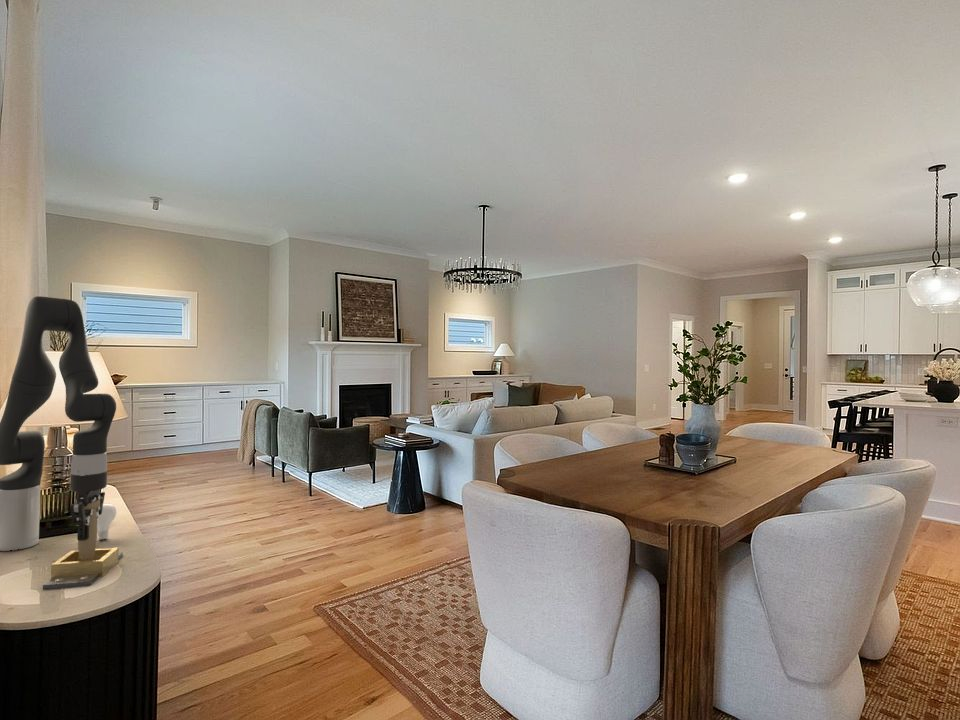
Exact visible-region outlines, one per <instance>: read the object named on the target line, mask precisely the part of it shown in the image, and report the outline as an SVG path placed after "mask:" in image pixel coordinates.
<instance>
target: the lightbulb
mask: <svg viewBox="0 0 960 720" xmlns="http://www.w3.org/2000/svg"><path fill="white" fill-rule="evenodd" d="M116 516H117V508H116V506H115V505H114V504H111V503H108V502H103V508H102V514H101V515H99V518H98V519H97V540H100V541H105V540H106V539H108V538H109V531H110V528H111V526H112V525H111V524H112V523H113V521H114V520H115V519H116ZM104 539H105V540H104Z"/></svg>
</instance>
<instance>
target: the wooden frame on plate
mask: <svg viewBox="0 0 960 720" xmlns="http://www.w3.org/2000/svg"><path fill="white" fill-rule="evenodd" d="M119 549H120V548H119V547H107V548H106V547H105V548H96V550H95V552H94V553H95V557H94V558H92V559H91V560H86V561H82V560H79V555H80V554H79V551H78V550H77V549H76V550H74V549H72V550H70V551H69V552H67V553H66V554H65V555H63V556H61V557H60V558H59V559H57V560H55V561H54V562H53V563H52V564H50V567H51V568H50V579H49V580H47V581H46V582H45V583H43V584H42V590H50V589H63V588H76V587H88V586H91V585H92V584H94V583H95V581H97V580H98V579H100V578H103V577H104V576H105V575H106V574H108V572H109V571H110V570H112V569H113V568H114V567H115V566H116V565H117V564H118V563H119V560H120V559H121V558H122V557H123V556H124V552H121V551H119Z"/></svg>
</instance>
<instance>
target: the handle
mask: <svg viewBox="0 0 960 720" xmlns="http://www.w3.org/2000/svg"><path fill="white" fill-rule="evenodd" d="M99 506H100V499H99V500H96V502H94V503H89V504H88V505H87V506H86V507H85V506H84V507H85V509H84V510H89V509H93V515H91V516H90V521H89V538H88V539H87V540H84V541H78V540H77V548H78V551H79V554H80V555H79V560H82V561H86V560H91V559H92V558H94V557H95V553H94V552H95V550H96V549H97V540H98V530H97V523H96V509H97V508H98V507H99ZM88 512H89V511H85V513H88ZM85 517H86V516H85Z"/></svg>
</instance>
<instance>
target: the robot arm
mask: <svg viewBox="0 0 960 720" xmlns="http://www.w3.org/2000/svg"><path fill="white" fill-rule="evenodd" d="M23 323H24V324H23V330H22V336H21V344H20V349H19V353H18V357H17V360H16V364H15V367H14V370H13V373H12V377H11V380H10V384H9V385H10V386H9V388H8V389H9V390H8V393H7V399H6V404H5V407H4V411H3V414H2V417H1V420H0V466H9V465H17V464H18V465H19V464H22V465H21V466H20V467H19V468H18V469H16V470H15V471H12V472H11V473H9V474H7V475H4V476H2V477H0V552H7V551H8V552H10V550H12V551H18V549H19V550H22V549H28V548H32V547H34V546H36V545H38V543H39V538H40V511H41V507H40V505H41V484H42V483H41V482H42V481H41V480H42V476H43V471H44V470H43V469H44V458H45V448H46V447H45V446H46V443H45V438H44V436H43V435H44V434H43V433H42V432H40V431H39V430H23V431H21V430H20V429H21V428H22V425H24V423H25V422H26V421H27V419H29V417H31V416H32V415H33V414H34V413H35V412H37V411H38V410H39V409H40V408H41V407H43V405H44V404H45V403H46V402H47V401H48V400H49V399H50V398H51V395H52V393H53V390H54V386H55V383H56V379H57V372H56V368H55V366H54V364H53V363H52V361H51V359H50V358H49V356H48V354H47V353H46V350H45V348H44V345H43V335H44V333H45V331H49V332H65V333H66V335H67V337H68V342H67V344H66V346H65V348H64V350H63V351H62V354H61V355H60V357H59V360H58V362H59V363H58V368H59V369H58V370H59V372H60V375H61V377H62V380H63V384H64V386H65V387H64V388H65V404H64V405H65V406H64V412H65V415H66V417H67V418H68V419H69V420H71V421H72V422H76V423H80V422H93V423H92V425H91V426H90V427H89V428H86V429H82V430H79V431H77V432H75V433H74V434H73V439H72V458H71V460H70V461H71V463H70V487H69V488H70V489H69V490H70V491H72V492H76V493H77V495H76V496H77V497H76V498H75V503H72V504H70V506H69V509H70V517H71V523H72V526H75V527H77V536H76V537H77V542H78V541H84V540H87V539H88V538H89V521H90V516H91V515H93V509H89V510H84V509H85V507H86V506H87V505H88V504H89V503H94V502H96V500H99V499H100V506H99V507H98V508H97V509H96V523H97V519H98V518H99V515H101V514H102V508H103V503H105V502H104V501H105V496H106V493H105V491H100V490H104V488H106V487H107V485H108V456H107V448H108V447H107V446H108V445H107V444H108V435H109V432H110V428H111V425H112V422H113V420H114V418H115V416H116V411H117V403H116V400H115V398H114V396H112V394H109V393H89V392H92V391H94V390H96V389H97V387H98V385H99V378H98V376H97V373H96V370H95V368H94V365H93V363H92V361H91V356H90V353H89V347H88V341H87V333H86V329H85V323H84V318H83V314H82V309H81V307H80V306H79V304H78V303H77V302H76V301H74V300H73V299H68V298H60V297H59V298H58V297H52V296H51V297H50V296H34V297H32V298H31V299H30V300H29V302H28V304H27V307H26V311H25V317H24V321H23ZM84 506H85V507H84ZM85 511H89V512H88V513H85ZM85 516H86V517H85Z"/></svg>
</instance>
